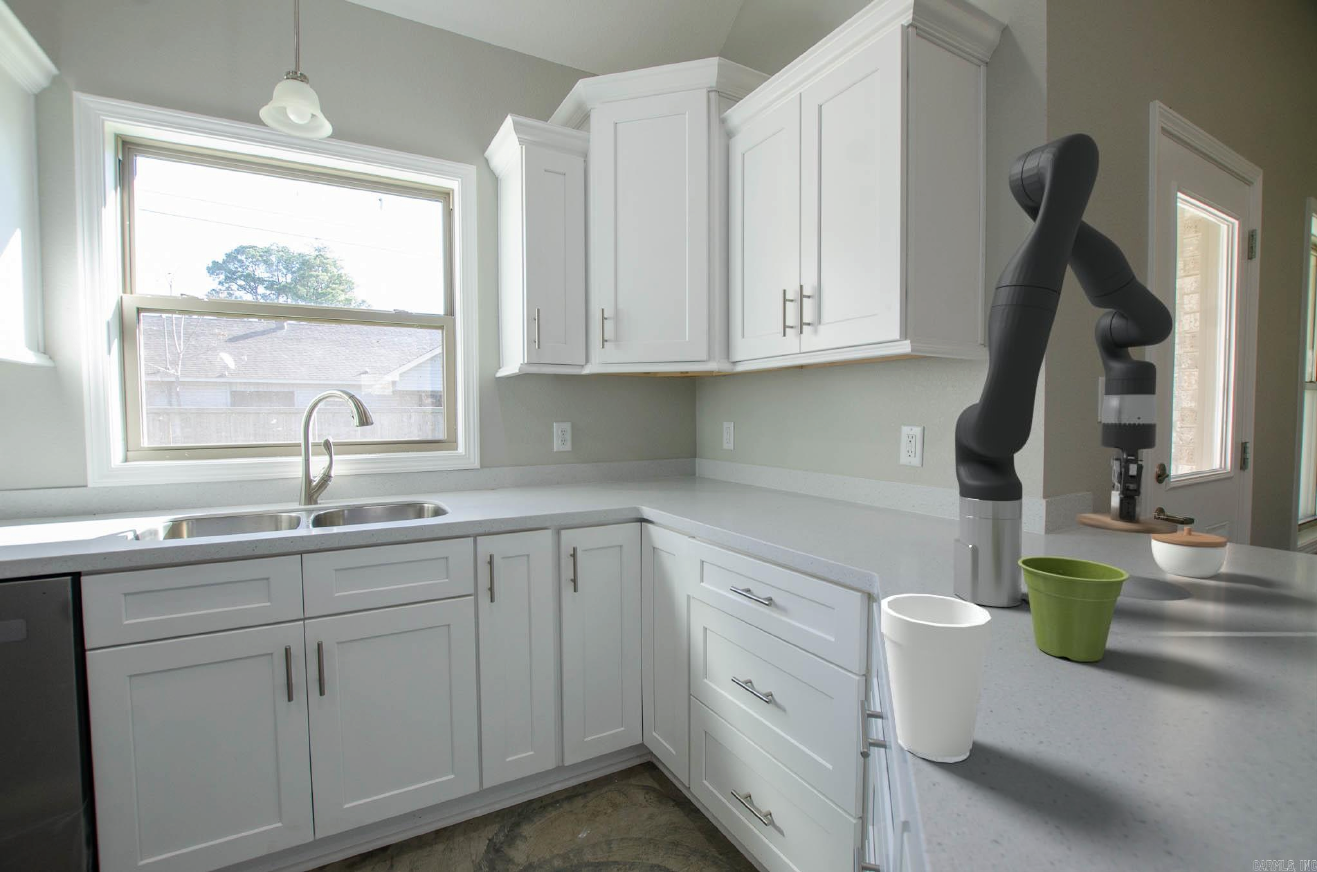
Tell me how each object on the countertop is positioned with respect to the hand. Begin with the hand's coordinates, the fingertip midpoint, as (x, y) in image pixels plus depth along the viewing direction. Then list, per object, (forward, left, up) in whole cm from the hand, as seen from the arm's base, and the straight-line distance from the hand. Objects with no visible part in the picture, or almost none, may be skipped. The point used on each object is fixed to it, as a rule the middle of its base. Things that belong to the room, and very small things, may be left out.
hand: (1124, 517), depth 103 cm
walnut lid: (0, 0, -2) cm, 2 cm away
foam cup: (-55, -50, -13) cm, 75 cm away
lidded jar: (+17, +8, -13) cm, 23 cm away
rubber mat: (0, 0, -13) cm, 13 cm away
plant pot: (-28, -28, -13) cm, 42 cm away
